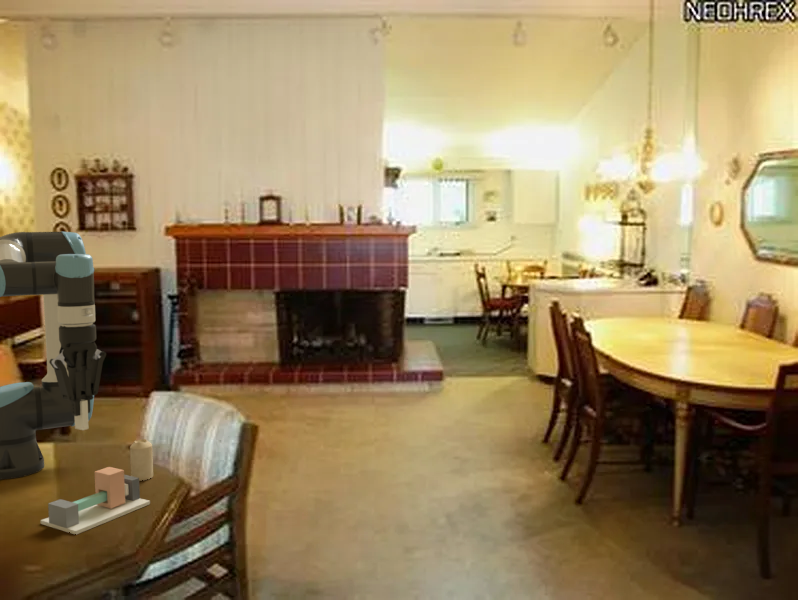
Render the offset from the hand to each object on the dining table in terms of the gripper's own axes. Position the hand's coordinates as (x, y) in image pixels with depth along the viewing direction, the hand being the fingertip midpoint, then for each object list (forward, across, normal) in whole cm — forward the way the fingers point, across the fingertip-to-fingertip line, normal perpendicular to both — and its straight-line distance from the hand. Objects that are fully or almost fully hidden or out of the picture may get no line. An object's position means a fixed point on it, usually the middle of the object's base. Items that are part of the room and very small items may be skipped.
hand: (81, 428), depth 161 cm
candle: (+21, +25, +10) cm, 34 cm away
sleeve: (+20, +6, -1) cm, 21 cm away
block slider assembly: (+21, +3, -1) cm, 21 cm away
